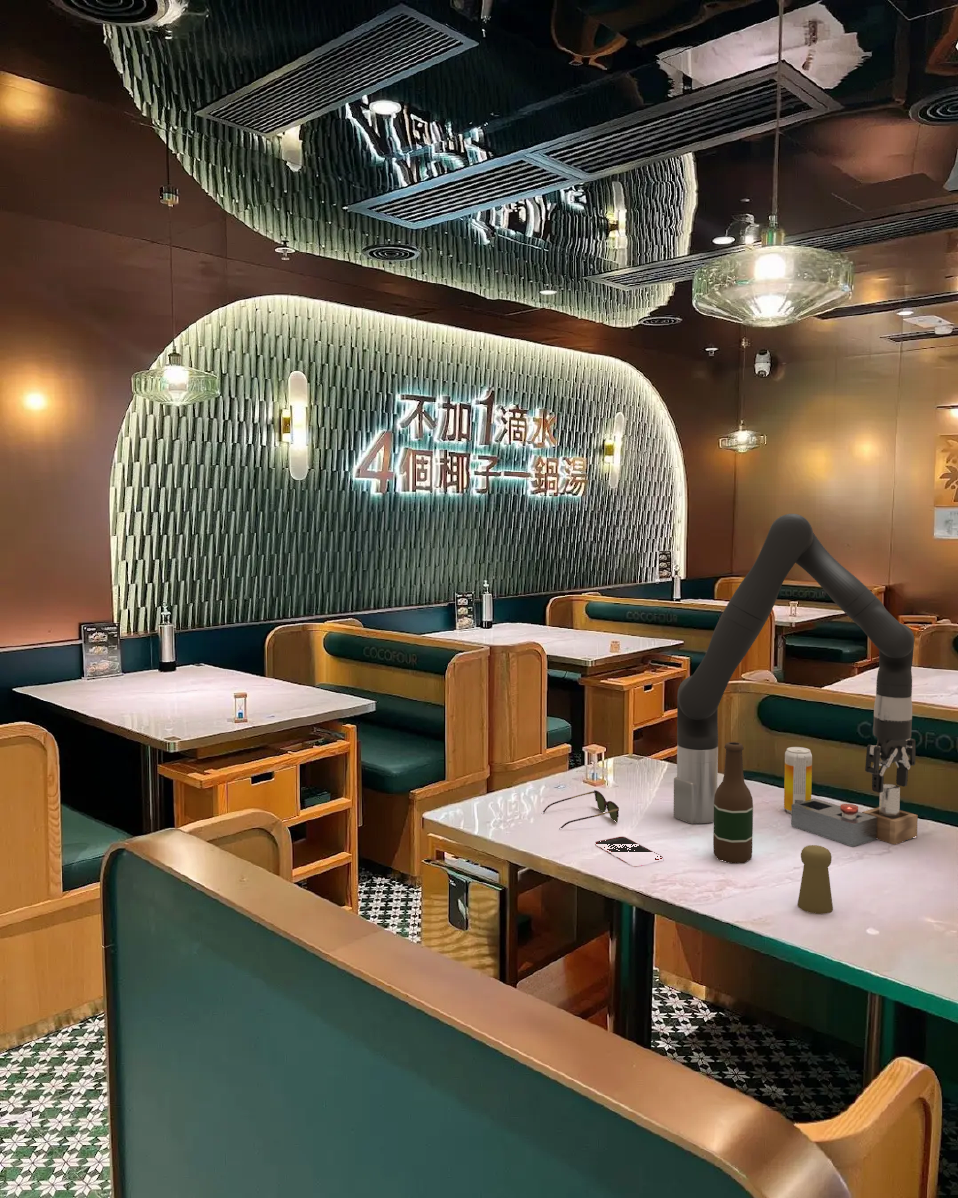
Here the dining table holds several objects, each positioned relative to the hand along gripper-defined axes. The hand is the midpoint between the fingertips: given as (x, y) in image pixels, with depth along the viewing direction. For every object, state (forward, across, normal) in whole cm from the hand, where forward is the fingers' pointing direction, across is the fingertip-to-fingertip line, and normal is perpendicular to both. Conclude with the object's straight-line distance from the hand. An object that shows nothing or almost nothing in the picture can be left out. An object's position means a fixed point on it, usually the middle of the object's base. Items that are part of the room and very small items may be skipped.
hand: (889, 788), depth 199 cm
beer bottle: (+11, +38, -10) cm, 41 cm away
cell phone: (+12, +54, -24) cm, 60 cm away
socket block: (+11, +8, -8) cm, 16 cm away
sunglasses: (+12, +49, -46) cm, 69 cm away
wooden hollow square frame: (+11, 0, 0) cm, 11 cm away
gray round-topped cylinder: (+11, 0, 0) cm, 11 cm away
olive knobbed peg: (+11, +44, +15) cm, 48 cm away
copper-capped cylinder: (+10, +8, -4) cm, 13 cm away
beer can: (+11, +3, -22) cm, 25 cm away
